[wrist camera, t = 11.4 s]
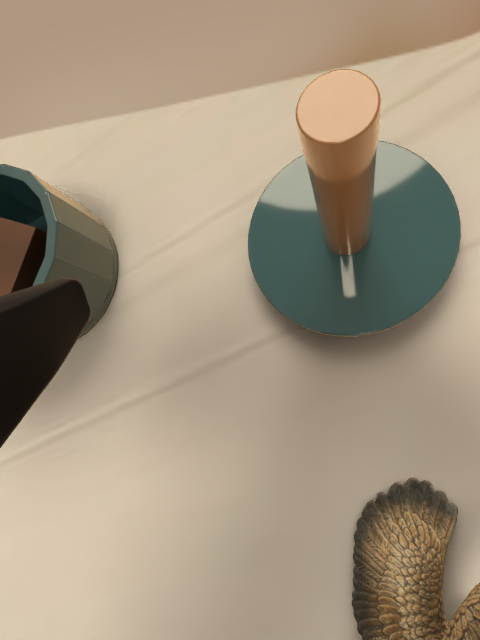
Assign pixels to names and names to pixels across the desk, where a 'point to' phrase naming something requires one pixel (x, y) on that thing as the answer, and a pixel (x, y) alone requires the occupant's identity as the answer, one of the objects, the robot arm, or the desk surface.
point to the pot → (63, 236)
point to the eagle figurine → (407, 568)
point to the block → (19, 255)
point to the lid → (352, 219)
